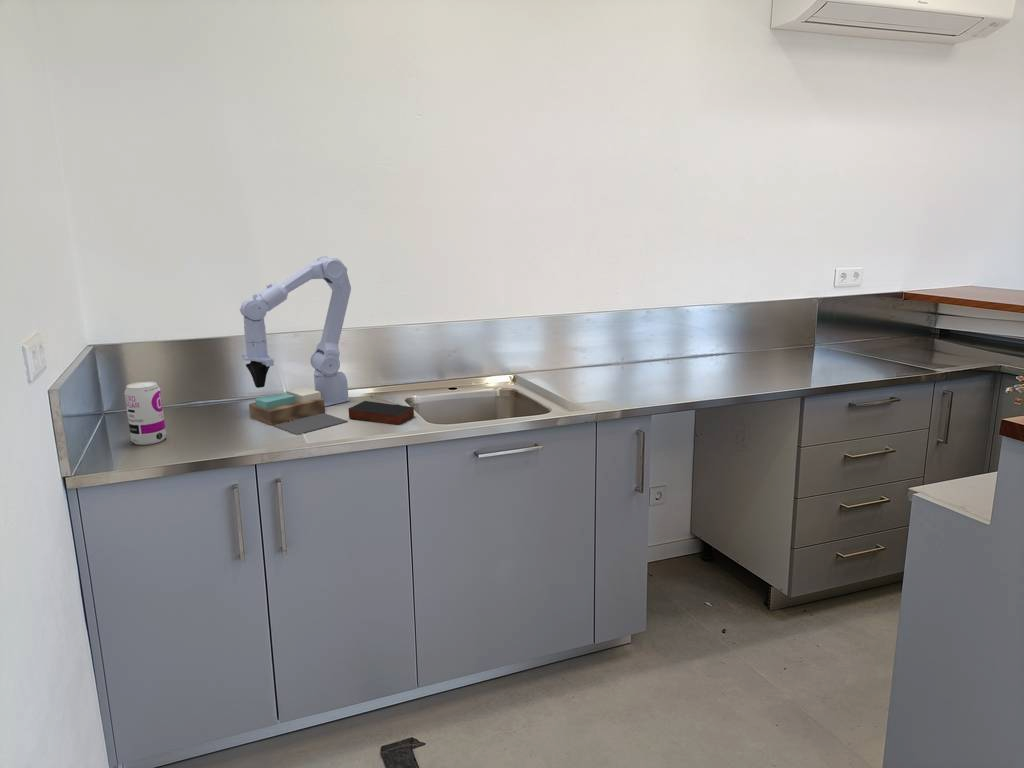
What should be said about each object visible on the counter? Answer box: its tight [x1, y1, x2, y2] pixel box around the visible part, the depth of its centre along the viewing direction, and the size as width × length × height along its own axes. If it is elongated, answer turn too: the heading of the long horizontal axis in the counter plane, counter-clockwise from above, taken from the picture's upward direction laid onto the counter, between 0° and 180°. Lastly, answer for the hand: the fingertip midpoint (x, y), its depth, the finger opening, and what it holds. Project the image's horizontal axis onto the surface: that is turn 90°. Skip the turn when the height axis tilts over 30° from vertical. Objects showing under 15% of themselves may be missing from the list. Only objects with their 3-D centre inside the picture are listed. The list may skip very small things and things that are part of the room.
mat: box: [272, 412, 349, 435], centre depth 202 cm, size 16×12×1 cm
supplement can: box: [124, 381, 167, 446], centre depth 187 cm, size 8×8×15 cm
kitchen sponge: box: [348, 395, 415, 426], centre depth 210 cm, size 19×3×15 cm
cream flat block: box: [285, 386, 321, 403], centre depth 214 cm, size 9×6×2 cm, turn 47°
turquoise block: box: [254, 392, 295, 409], centre depth 207 cm, size 9×6×2 cm, turn 137°
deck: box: [248, 399, 326, 427], centre depth 210 cm, size 17×12×4 cm
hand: (260, 387), depth 212 cm, fingers closed
